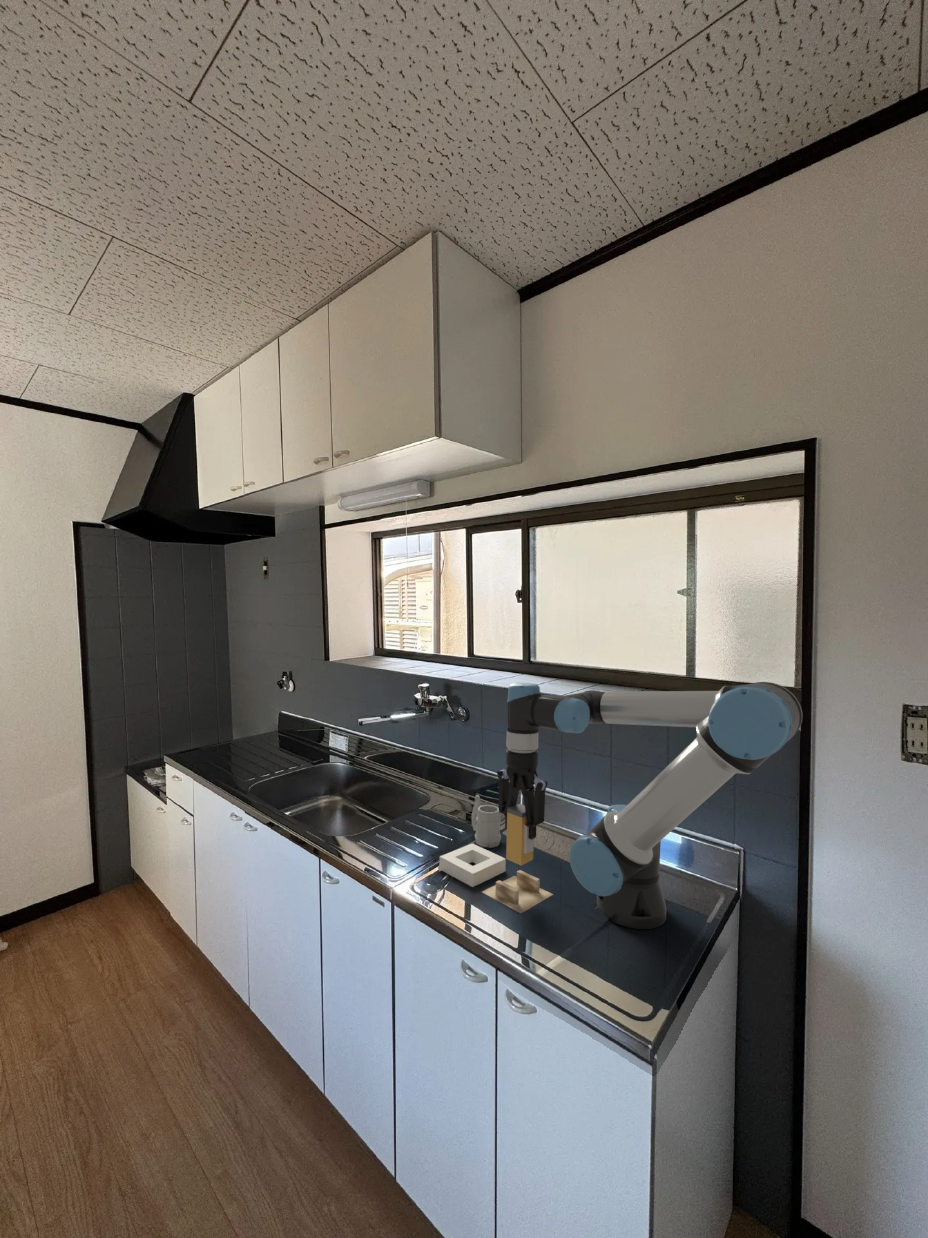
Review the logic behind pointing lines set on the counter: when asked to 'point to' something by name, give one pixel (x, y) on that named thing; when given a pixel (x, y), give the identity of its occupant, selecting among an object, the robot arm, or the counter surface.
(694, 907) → the counter surface
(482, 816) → the mug
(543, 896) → the beige plate with rail
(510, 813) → the plug
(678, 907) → the counter surface
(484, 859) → the port
